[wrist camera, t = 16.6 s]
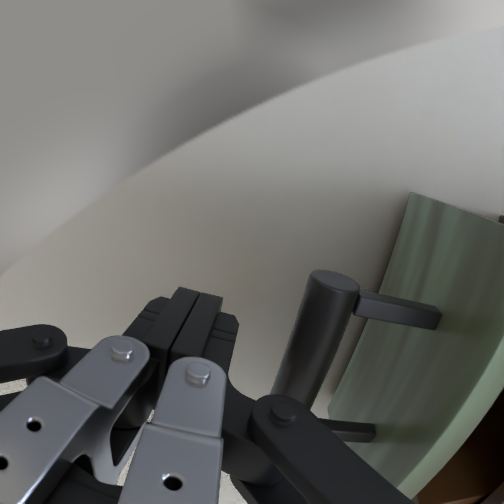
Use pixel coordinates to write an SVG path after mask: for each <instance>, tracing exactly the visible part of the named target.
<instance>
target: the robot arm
mask: <svg viewBox="0 0 504 504" xmlns="http://www.w3.org/2000/svg"><path fill="white" fill-rule="evenodd" d="M222 301H223V297H219V296H215V295H210V294H207V293H203V292H202V293H200V292H198V291H194V290H191V289H187V288H183V287H179V288H178V289H177V290H176V292H175V293H174V294H173V296H172V297H171V299H169V298H165V297H162V296H161V297H158V298H156V299H154V300H152V301H150V302H149V303H148V304H147V305H146V306H145V308H144V309H143V310H142V311H141V313H140V314H139V315H138V317H136V319H135V320H134V321H133V322H132V324H131V325H130V326H129V327H128V328H127V330H126V331H125V332H124V333H123V335H122V336H111V337H107V338H105V339H103V340H101V341H100V342H99V343H98V344H97V345H96V346H95V347H94V348H93V349H84V348H78V347H71V346H68V345H67V337H66V335H65V333H64V332H63V331H62V330H60V329H59V328H57V327H55V326H52V325H45V324H39V325H32V326H26V327H20V328H15V329H9V330H3V331H0V383H5V382H10V381H15V380H20V379H24V378H26V382H27V386H28V387H27V388H25V389H24V390H23V391H20V392H15V393H10V394H6V395H1V396H0V504H218V501H219V489H220V477H221V470H222V471H224V472H226V473H228V474H230V479H231V482H232V483H233V485H234V486H235V488H236V489H237V490H238V492H239V493H240V494H241V495H242V497H243V498H244V499H245V501H246V502H247V503H248V504H415V503H414V502H413V501H411V500H410V499H409V498H408V497H407V496H405V495H404V494H403V493H402V492H400V491H399V490H398V489H397V488H396V487H394V486H393V485H392V484H391V483H390V482H388V481H387V480H386V479H385V478H384V477H383V476H381V475H380V474H379V473H378V472H377V471H376V470H374V469H373V468H372V467H371V466H370V465H369V464H368V463H366V462H365V461H364V460H363V459H362V458H361V457H360V456H359V455H357V454H356V453H355V452H354V451H353V450H352V449H351V448H350V447H348V446H347V445H346V444H345V443H344V442H343V441H342V440H341V439H340V438H339V437H338V436H336V435H335V434H334V433H333V432H332V431H331V430H330V429H329V428H328V427H327V426H326V425H325V424H324V423H323V422H322V421H320V420H319V419H318V418H317V417H316V416H315V415H314V414H313V413H312V412H311V411H310V410H309V409H308V408H307V407H306V406H305V405H304V404H302V403H301V402H299V401H298V400H296V399H294V398H292V397H289V396H285V395H279V394H272V395H266V396H263V397H261V398H259V399H258V400H257V401H256V400H253V399H251V398H249V397H247V396H245V395H243V394H242V393H240V392H239V391H237V390H236V389H235V388H234V387H233V385H232V384H231V382H230V380H229V377H228V371H229V367H230V362H231V358H232V354H233V349H234V345H235V341H236V336H237V332H238V327H239V323H238V321H237V319H236V317H235V315H231V314H227V313H223V312H220V311H221V306H222ZM152 409H153V410H155V411H154V414H153V417H152V420H151V422H147V419H148V418H149V415H150V413H151V411H152ZM136 445H137V446H136ZM135 447H136V449H135ZM134 449H135V452H134V455H133V458H132V461H131V464H130V467H129V470H128V473H127V476H126V479H125V483H124V486H118V485H117V482H118V478H119V476H120V473H121V471H122V470H123V468H124V466H125V464H126V463H127V461H128V459H129V458H130V456H131V454H132V452H133V451H134Z"/></svg>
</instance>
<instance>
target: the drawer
mask: <svg viewBox="0 0 504 504" xmlns="http://www.w3.org/2000/svg"><path fill="white" fill-rule="evenodd" d="M351 313H353V315H355V316H360V317H365V318H368V320H367V323H366V325H365V328H364V330H363V332H362V335H361V337H360V340H359V342H358V344H357V346H356V349H355V351H354V353H353V356H352V358H351V360H350V362H349V364H348V367H347V369H346V371H345V373H344V375H343V377H342V379H341V381H340V384H339V386H338V388H337V390H336V392H335V394H334V396H333V398H332V400H331V402H330V404H329V406H328V412H329V419H322V418H318V419H319V420H320V421H322V422H323V423H324V424H325V425H326V426H327V427H328V428H329V429H330V430H331V431H332V432H333V433H334V434H335V435H336V436H338V437H339V438H340V439H341V440H342V441H343V442H344V443H345V444H346V445H347V446H348V447H350V448H351V449H352V450H353V451H354V452H355V453H356V454H357V455H359V456H360V457H361V458H362V459H363V460H364V461H365V462H366V463H368V464H369V465H370V466H371V467H372V468H373V469H374V470H376V471H377V472H378V473H379V474H380V475H381V476H383V477H384V478H385V479H386V480H387V481H388V482H390V483H391V484H392V485H393V486H394V487H396V488H397V489H398V490H399V491H400V492H402V493H403V494H404V495H405V496H407V497H408V498H409V499H410V500H411V501H413V502H414V503H415V504H474V503H478V502H481V501H484V500H485V499H486V498H487V497H488V496H489V495H490V494H491V493H492V492H494V491H495V490H496V489H497V488H498V487H499V486H500V485H501V484H502V483H503V482H504V224H502V223H499V222H497V221H494V220H491V219H489V218H486V217H484V216H481V215H478V214H476V213H473V212H470V211H467V210H465V209H462V208H459V207H456V206H453V205H450V204H447V203H445V202H442V201H439V200H436V199H433V198H429V197H426V196H423V195H420V194H417V193H414V192H411V193H410V196H409V200H408V203H407V207H406V210H405V214H404V217H403V221H402V224H401V227H400V231H399V234H398V237H397V240H396V243H395V246H394V249H393V252H392V255H391V258H390V261H389V264H388V267H387V270H386V273H385V276H384V279H383V281H382V284H381V287H380V289H379V292H378V293H375V292H370V291H366V290H361V289H360V286H359V285H358V284H357V283H356V282H355V281H354V280H352V279H351V278H349V277H347V276H345V275H343V274H340V273H337V272H334V271H329V270H314V271H312V272H311V273H310V275H309V278H308V282H307V285H306V288H305V292H304V295H303V298H302V301H301V304H300V307H299V311H298V314H297V317H296V320H295V323H294V326H293V329H292V332H291V335H290V338H289V341H288V344H287V347H286V350H285V353H284V356H283V359H282V362H281V365H280V368H279V370H278V373H277V376H276V379H275V382H274V385H273V387H272V390H271V393H270V395H272V394H279V395H285V396H289V397H292V398H294V399H296V400H298V401H299V402H301V403H302V404H304V405H305V406H306V407H307V408H308V409H309V410H310V409H311V407H312V405H313V403H314V400H315V398H316V396H317V394H318V392H319V390H320V388H321V385H322V383H323V381H324V379H325V376H326V374H327V372H328V370H329V367H330V365H331V363H332V360H333V358H334V356H335V353H336V351H337V349H338V346H339V344H340V341H341V339H342V336H343V334H344V331H345V329H346V326H347V324H348V321H349V319H350V316H351Z"/></svg>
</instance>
